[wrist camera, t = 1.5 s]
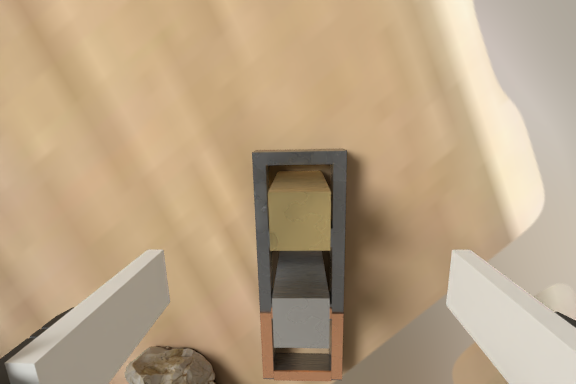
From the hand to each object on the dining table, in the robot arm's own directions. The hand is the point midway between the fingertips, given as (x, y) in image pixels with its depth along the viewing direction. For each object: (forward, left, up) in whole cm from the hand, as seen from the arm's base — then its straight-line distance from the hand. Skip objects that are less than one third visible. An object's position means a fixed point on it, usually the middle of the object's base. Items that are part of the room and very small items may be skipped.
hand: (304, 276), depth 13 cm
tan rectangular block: (0, 0, -18) cm, 18 cm away
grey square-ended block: (0, -9, -18) cm, 20 cm away
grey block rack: (0, -9, -18) cm, 20 cm away
